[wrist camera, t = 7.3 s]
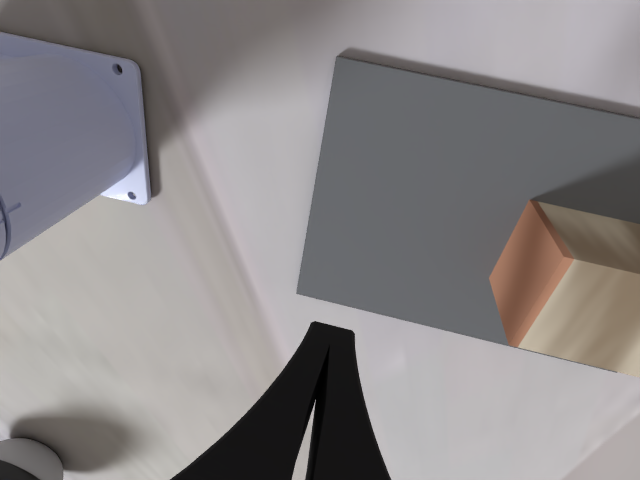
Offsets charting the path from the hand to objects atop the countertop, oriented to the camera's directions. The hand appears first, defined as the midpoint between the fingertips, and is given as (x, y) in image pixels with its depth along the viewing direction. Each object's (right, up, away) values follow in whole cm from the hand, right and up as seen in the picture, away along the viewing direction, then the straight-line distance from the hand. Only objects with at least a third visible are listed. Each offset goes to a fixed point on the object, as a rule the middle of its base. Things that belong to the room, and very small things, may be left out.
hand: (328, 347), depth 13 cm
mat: (+9, +4, +8) cm, 13 cm away
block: (+9, +2, +6) cm, 11 cm away
